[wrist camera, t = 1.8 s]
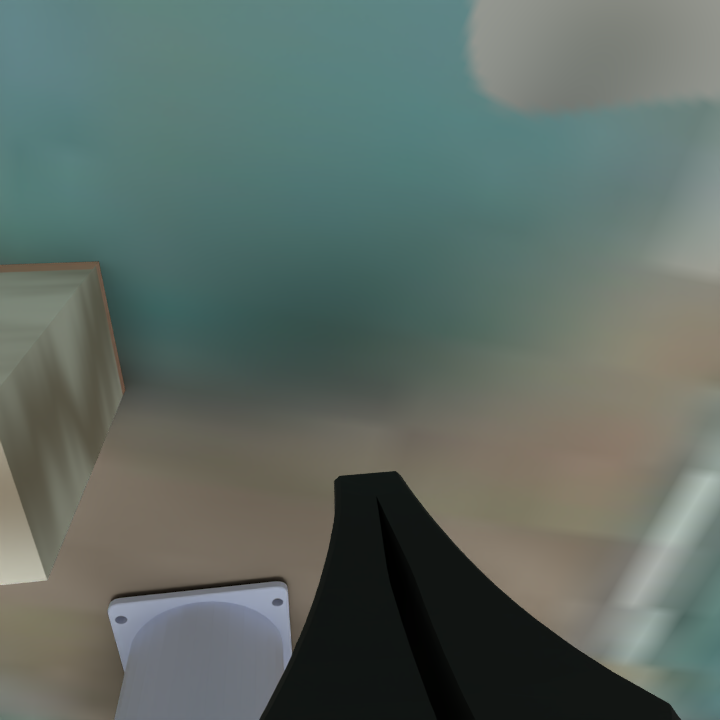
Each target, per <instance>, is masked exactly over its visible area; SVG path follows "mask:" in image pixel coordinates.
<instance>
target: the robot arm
mask: <svg viewBox="0 0 720 720" xmlns="http://www.w3.org/2000/svg"><path fill="white" fill-rule="evenodd" d="M334 494H335V516H334V524H333V529H332V534H331V539H330V544H329V549H328V553H327V557H326V561H325V564H324V568H323V572H322V575H321V579H320V582H319V586H318V589H317V592H316V595H315V598H314V601H313V604H312V606H311V609H310V612H309V614H308V617H307V620H306V622H305V625H304V627H303V630H302V632H301V635H300V637H299V639H298V642H297V644H296V647H295V649H294V651H293V653H292V645H291V630H290V615H289V601H288V587H287V585H286V584H285V583H283V582H281V581H274V582H265V583H255V584H246V585H237V586H227V587H218V588H209V589H199V590H190V591H181V592H171V593H162V594H153V595H143V596H134V597H125V598H118V599H114V600H113V601H111V602H110V604H109V607H108V616H109V619H110V623H111V626H112V630H113V633H114V637H115V641H116V644H117V648H118V651H119V655H120V659H121V662H122V666H123V669H124V673H125V674H124V679H123V683H122V688H121V692H120V696H119V701H118V705H117V710H116V714H115V719H114V720H681V719H680V718H679V716H678V715H677V714H676V712H675V711H674V709H673V708H672V706H671V705H670V704H669V703H667V702H665V701H664V700H662V699H660V698H658V697H656V696H655V695H653V694H651V693H649V692H648V691H646V690H644V689H642V688H640V687H639V686H637V685H635V684H633V683H632V682H630V681H628V680H626V679H624V678H623V677H621V676H619V675H617V674H616V673H614V672H612V671H611V670H609V669H607V668H606V667H604V666H603V665H601V664H600V663H598V662H596V661H595V660H593V659H592V658H590V657H589V656H587V655H586V654H584V653H582V652H581V651H579V650H578V649H576V648H575V647H573V646H572V645H571V644H569V643H568V642H566V641H565V640H564V639H562V638H561V637H560V636H558V635H557V634H555V633H554V632H553V631H551V630H550V629H549V628H547V627H546V626H545V625H543V624H542V623H540V622H539V621H538V620H536V619H535V618H534V617H532V616H531V615H530V614H529V613H528V612H526V611H525V610H524V609H523V608H521V607H520V606H519V605H518V604H517V603H515V602H514V601H513V600H512V599H511V598H510V597H508V596H507V595H506V594H505V593H504V592H503V591H502V590H500V589H499V588H498V587H497V586H496V585H495V584H494V583H493V582H492V581H491V580H490V579H488V578H487V577H486V576H485V575H484V574H483V573H482V572H481V571H480V570H479V569H478V568H477V567H476V566H475V565H474V564H473V563H472V562H471V561H470V560H469V559H468V558H467V557H466V556H465V554H464V553H463V552H462V551H461V550H460V549H459V548H458V547H457V546H456V545H455V544H454V543H453V542H452V540H451V539H450V538H449V537H448V536H447V535H446V533H445V532H444V531H443V530H442V529H441V528H440V527H439V525H438V524H437V523H436V522H435V521H434V519H433V518H432V517H431V516H430V515H429V513H428V512H427V511H426V510H425V508H424V507H423V506H422V504H421V503H420V502H419V501H418V499H417V498H416V497H415V495H414V494H413V493H412V491H411V490H410V488H409V487H408V486H407V484H406V483H405V481H404V480H403V478H402V477H401V475H400V474H398V473H397V472H396V471H392V472H380V473H368V474H357V475H345V476H339V477H338V478H337V479H336V480H335V481H334ZM277 598H278V599H277ZM123 616H124V617H123Z"/></svg>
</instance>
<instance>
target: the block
mask: <svg viewBox="0 0 720 720" xmlns="http://www.w3.org/2000/svg"><path fill="white" fill-rule="evenodd" d="M124 392H125V387H124V382H123V377H122V372H121V367H120V362H119V358H118V353H117V348H116V343H115V338H114V333H113V328H112V323H111V319H110V314H109V309H108V304H107V299H106V294H105V289H104V285H103V280H102V275H101V270H100V265H99V261H98V262H70V263H41V264H12V265H0V585H7V584H17V583H26V582H36V581H46V580H48V577H49V575H50V572H51V570H52V568H53V565H54V563H55V560H56V558H57V555H58V553H59V550H60V548H61V546H62V543H63V541H64V538H65V536H66V533H67V531H68V529H69V526H70V524H71V521H72V519H73V516H74V514H75V511H76V509H77V507H78V504H79V502H80V499H81V497H82V494H83V492H84V490H85V487H86V485H87V482H88V480H89V477H90V475H91V472H92V470H93V468H94V465H95V463H96V460H97V458H98V455H99V453H100V451H101V448H102V446H103V443H104V441H105V438H106V436H107V433H108V431H109V429H110V426H111V424H112V421H113V419H114V416H115V414H116V412H117V409H118V407H119V404H120V402H121V399H122V397H123V394H124Z"/></svg>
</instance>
